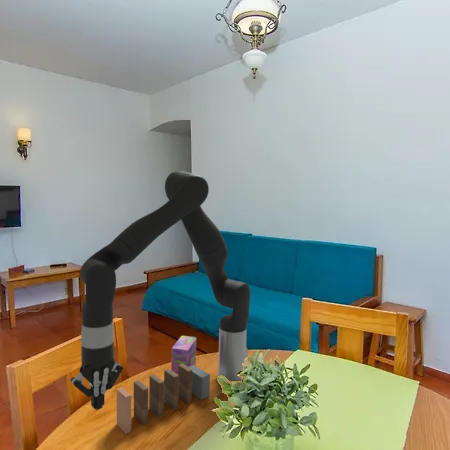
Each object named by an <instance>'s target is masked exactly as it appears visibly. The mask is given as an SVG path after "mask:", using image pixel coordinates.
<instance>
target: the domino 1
mask: <svg viewBox="0 0 450 450" xmlns="http://www.w3.org/2000/svg"><path fill="white" fill-rule="evenodd" d="M133 417H134V419H135V420H136V421H137V422H138V423H140V424H141V425H142V426H145V425H147V424H149V386H148V385H145V384H144V383H143V382H142V381H141V380H136V381H133Z"/></svg>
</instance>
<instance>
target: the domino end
mask: <svg viewBox="0 0 450 450" xmlns="http://www.w3.org/2000/svg"><path fill="white" fill-rule="evenodd" d="M116 425H117V427H118V428H120V430H121V431H122V432H123V433H124V434H125V435H126V434H127V435H128V433H132V393H130V392H128V391H127V390H126V389H125V387H123V386H121V387H118V388H116Z"/></svg>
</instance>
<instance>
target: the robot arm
mask: <svg viewBox="0 0 450 450" xmlns="http://www.w3.org/2000/svg"><path fill="white" fill-rule="evenodd" d="M164 182H165V183H164V191H165V195H166V197H167V199H168V200H167V202H166V203H164V204H163V205H162V206H160V207H158V208H156V210H154V211H151V212H150V213H148V214H146V215H144V216H142V217H140V218H139V219H137V220H135V221H134V222H132V223H131V224H129V225H128V226H127V227H126V228H125V229H123V231H121V232H120V233H118V235H116V237H115V238H114V239H113V240H112V241H111V242H110V243H108V244H107V245H105V246H104V247H102V248H101V249H100V250H98V251H97V252H94V254H92V255H90V257H89V258H87V259H86V260H85V262H83V264H82V265H81V267H80V271H79V277H80V279H81V281H82V282H83V283H84V285H85V300H84V302H83V303H82V304H83V305H82V312H81V313H82V314H81V324H82V325H81V332H80V333H81V334H80V337H81V338H80V345H81V346H80V347H81V349H80V351H81V353H80V355H81V356H80V357H81V359H80V361H81V365H80V368H79V373H78V374H77V375H76V376H75V377H74V376H73V377H71V378H70V383H72V385H73V386H74V387H76V389H78V390H79V391H80V392H82V393H83V394H84V395H85V396H86V397H87V398H90V406H91V407H92V409H94V410H95V411H99V410H101V409H103V406H104V405H105V394H106V391H108V390H111V389H112V388H113V386H114V384H115V383H116V381H117V380H118V378H119V376H120V375H121V373H122V372H123V370H124V366H123V365H121V364H120V363H119V362H116V360H115V359H114V357H115V348H114V347H115V339H114V338H115V328H114V308H113V305H114V304H113V303H114V300H115V295H116V287H117V273H116V270H118V269H119V268H120V267H121V266H122V265H128V264H130V263H132V262H133V261H135V259H136V258H138V256H139V255H141V254H142V252H144V251H145V250H146V249H147V248H148V247H149V246H151V244H152V243H153V242H155V240H157V238H159V237H160V236H161V235H162V234H164V233H165V232H166V231H168V230H169V229H170V228H171V227H173V226H174V225H175V224H177V223H179V222H180V221H181V222H182V224H183V227H184V229H185V231H186V233H187V235H188V237H189V240H190V241H191V244H192V246H193V248H194V250H195V253H196V255H197V257H198V259H199V261H200V263H201V265H202V267H203V269H204V272H205V274H206V276H207V279H208V281H209V283H210V287H211V290H212V293H213V295H214V299H215V301H216V302H217V304H218V305H220V306H222V307H226V308H229V309H232V310H231V311H232V312H231V314H227V315H225V316H222V317H220V319H219V328H218V332H219V333H218V367H217V368H218V369H217V370H218V371H217V372H218V373H217V377H218V376H220V375H223V376H225V377H226V378H227V379H228V380H229V381H240V382H242V381H241V377H239V376H237V373H238V372H239V371H241V370H242V369H243V367H242V363H243V362H244V359H245V358H246V357H248V355H249V353H248V352H249V349H248V347H247V332H248V331H247V328H248V326H247V325H248V322H249V316H250V305H251V304H250V303H251V289H250V286H249V284H248V283H246V282H243V281H239V280H234V279H230V278H229V277H228V275H227V274H226V271H225V265H226V262H227V260H228V254H229V250H228V247H227V244H226V242H225V239H224V237H223V235H222V232H221V231H220V230H219V228H218V227H217V225H216V224H215V223H214V222H213V220H211V219H210V217H209V216H208V215H207V214H206V212H205V211H204V210H203V207H202V205H203V204H204V202H205V201H206V199H207V198H208V197H209V190H210V187H209V183H208V182H207V180H206V179H205V178H204V177H203V176H202V175H199V174H196V173H191V172H187V171H183V170H176V171H172V172H171V173H170V174H169V175H168V176H167V177H166V179H165V181H164ZM84 378H85V380H86V381H88V386H89V388H88V387H87V386H85V385H84V382H85V381H84Z"/></svg>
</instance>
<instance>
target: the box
mask: <svg viewBox="0 0 450 450" xmlns="http://www.w3.org/2000/svg"><path fill="white" fill-rule="evenodd" d="M170 361H171V363H170V364H171V367H170V370H172V371H173V372H175V373H176V374H178V365H179V364H182V363H183V364H184V365H186V366H187V367H189V366H192V365H195V366H196V365H197V364H196V363H197V337H196V336H189V335H188V336H187V335H181V336H180V337H179V338H178V339H177V341H176V342H175V343H174V345H173V346H172V347H171V360H170ZM196 367H197V366H196Z"/></svg>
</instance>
